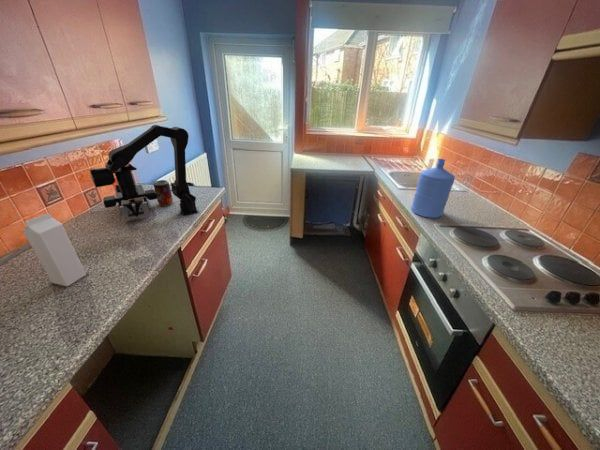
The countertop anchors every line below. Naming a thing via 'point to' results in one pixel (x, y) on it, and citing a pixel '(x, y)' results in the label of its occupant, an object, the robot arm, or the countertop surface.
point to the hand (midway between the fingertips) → (137, 216)
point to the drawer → (142, 211)
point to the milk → (54, 249)
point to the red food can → (163, 192)
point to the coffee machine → (140, 191)
